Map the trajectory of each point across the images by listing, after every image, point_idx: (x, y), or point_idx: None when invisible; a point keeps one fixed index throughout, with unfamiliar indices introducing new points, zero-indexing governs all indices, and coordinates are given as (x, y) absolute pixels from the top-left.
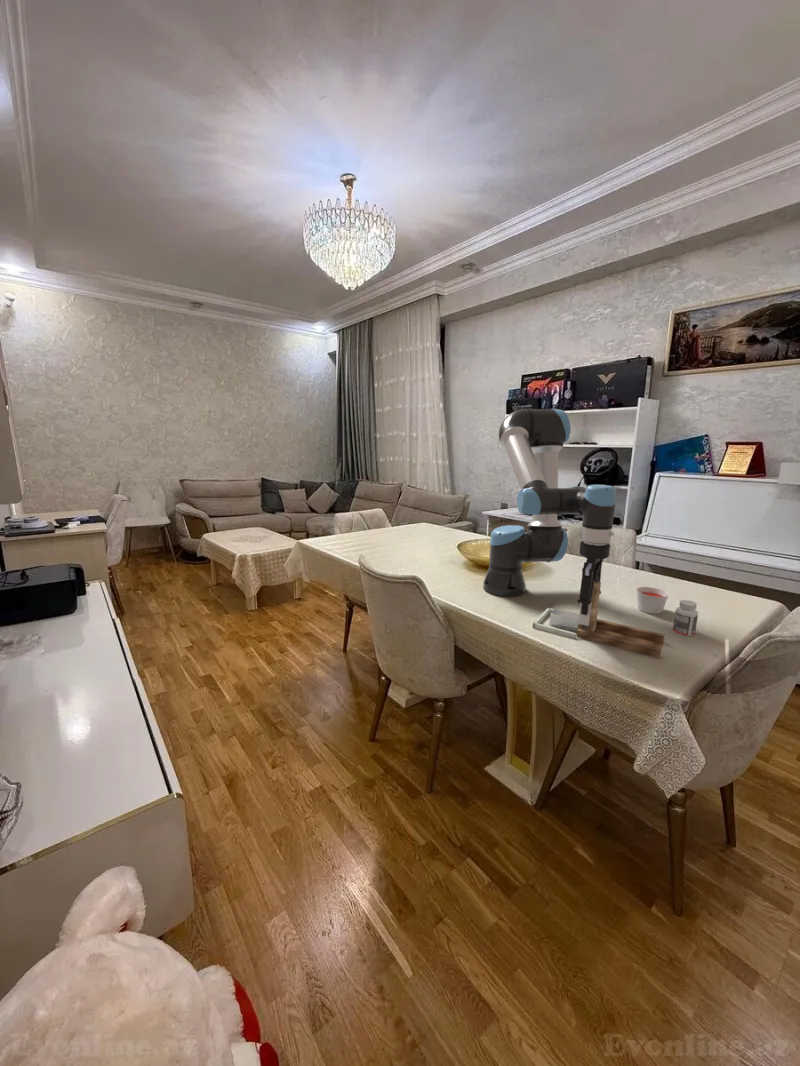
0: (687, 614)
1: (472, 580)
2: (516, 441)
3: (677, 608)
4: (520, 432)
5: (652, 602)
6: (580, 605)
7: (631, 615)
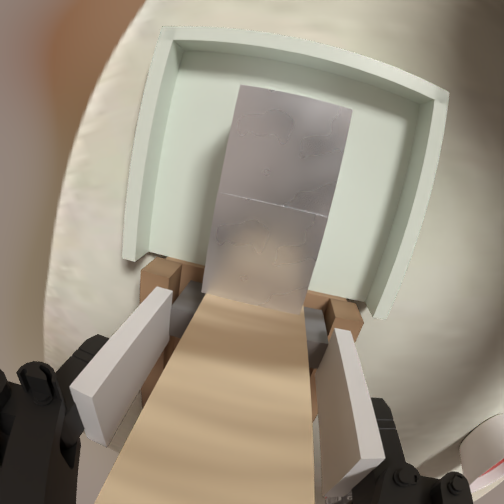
0: None
1: None
2: None
3: None
4: None
5: (469, 467)
6: (89, 366)
7: (458, 413)
